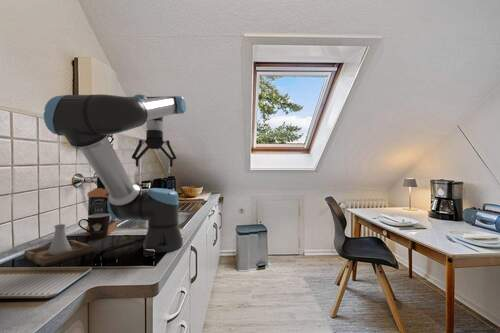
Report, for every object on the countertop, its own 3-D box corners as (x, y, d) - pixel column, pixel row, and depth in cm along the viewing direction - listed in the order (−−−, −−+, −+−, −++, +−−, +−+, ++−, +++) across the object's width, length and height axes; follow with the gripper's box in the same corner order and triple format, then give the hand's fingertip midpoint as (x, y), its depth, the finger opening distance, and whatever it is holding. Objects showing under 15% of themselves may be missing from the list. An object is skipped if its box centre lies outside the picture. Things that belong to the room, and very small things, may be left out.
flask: (42, 254, 89) (42, 226, 89) (64, 247, 95) (64, 222, 95) (54, 257, 86) (54, 228, 86) (76, 250, 92) (76, 224, 92)
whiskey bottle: (117, 229, 126) (117, 166, 126) (108, 234, 117) (108, 166, 116) (95, 229, 125) (95, 166, 125) (85, 235, 115) (85, 166, 115)
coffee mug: (114, 234, 116) (114, 213, 116) (101, 240, 107) (100, 217, 107) (91, 233, 117) (91, 213, 117) (76, 239, 109) (76, 216, 109)
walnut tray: (92, 252, 93) (92, 245, 93) (43, 266, 80) (43, 259, 80) (71, 245, 101) (71, 239, 101) (24, 257, 88) (24, 250, 88)
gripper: (181, 132, 127) (181, 173, 128) (128, 130, 121) (128, 173, 121) (181, 130, 120) (181, 173, 120) (124, 127, 113) (124, 174, 114)
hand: (154, 173), depth 121 cm, fingers open, 13 cm apart
